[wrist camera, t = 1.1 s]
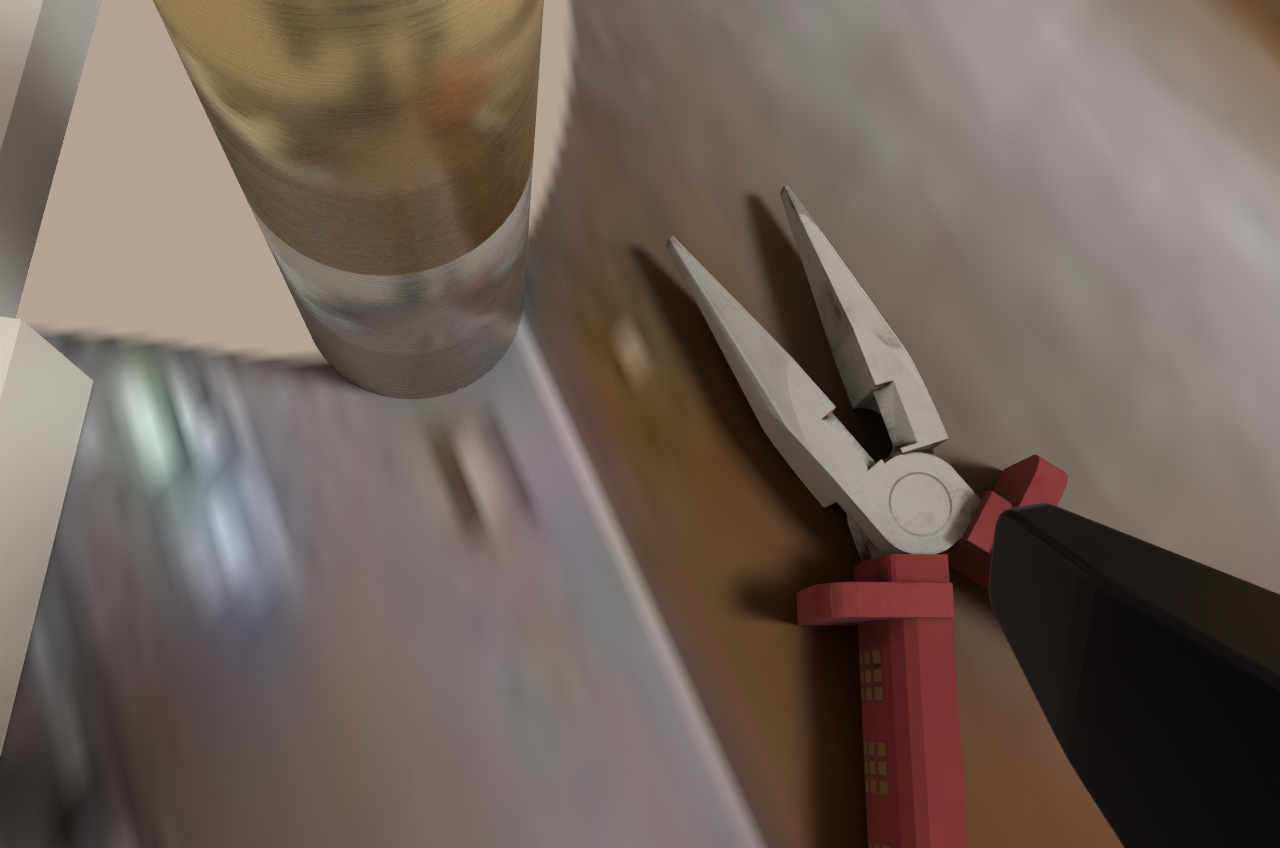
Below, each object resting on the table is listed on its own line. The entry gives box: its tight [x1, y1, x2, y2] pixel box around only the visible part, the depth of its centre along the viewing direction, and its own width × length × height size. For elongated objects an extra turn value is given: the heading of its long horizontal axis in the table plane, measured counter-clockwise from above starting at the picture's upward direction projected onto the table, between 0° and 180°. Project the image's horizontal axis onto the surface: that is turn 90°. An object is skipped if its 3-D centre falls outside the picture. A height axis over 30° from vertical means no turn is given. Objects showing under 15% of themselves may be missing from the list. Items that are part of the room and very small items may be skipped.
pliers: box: [666, 185, 1068, 848], centre depth 22 cm, size 12×20×3 cm, turn 30°
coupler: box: [153, 0, 544, 399], centre depth 17 cm, size 4×4×13 cm
